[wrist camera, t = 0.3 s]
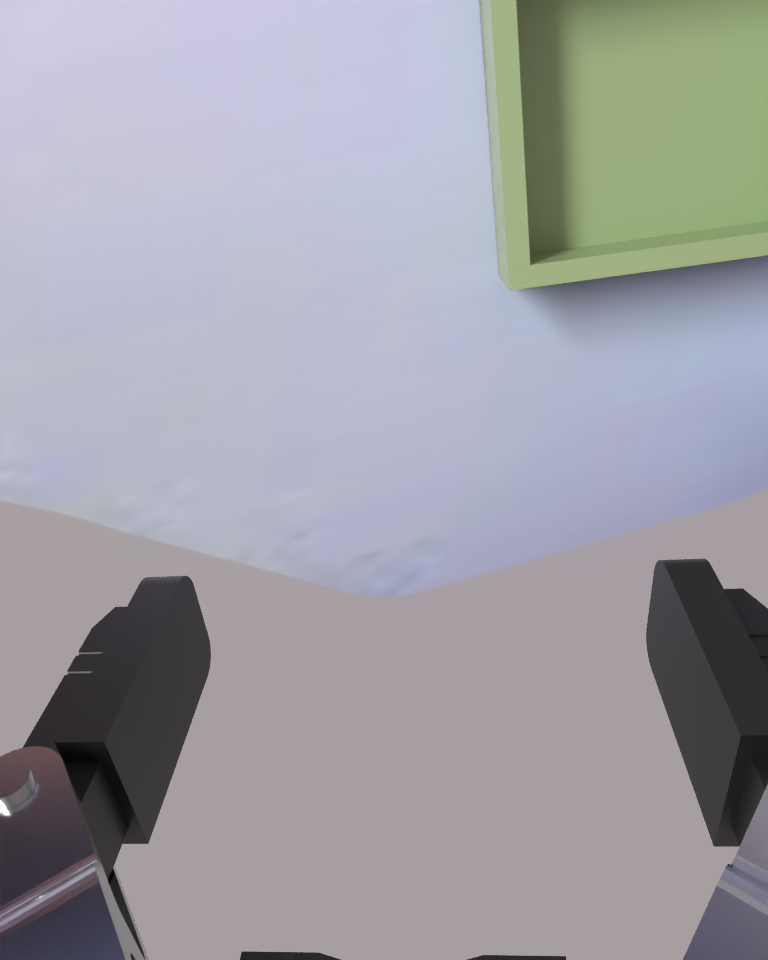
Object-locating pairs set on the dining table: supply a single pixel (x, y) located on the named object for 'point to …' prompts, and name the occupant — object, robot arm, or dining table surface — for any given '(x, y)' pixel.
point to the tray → (625, 135)
